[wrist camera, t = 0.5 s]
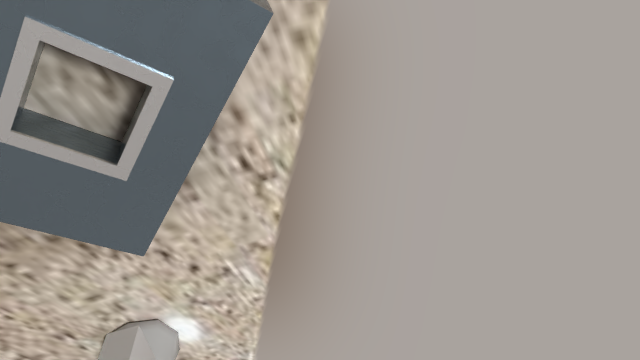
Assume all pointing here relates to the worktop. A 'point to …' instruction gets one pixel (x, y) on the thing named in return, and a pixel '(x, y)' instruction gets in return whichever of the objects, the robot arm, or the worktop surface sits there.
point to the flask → (158, 338)
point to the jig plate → (148, 120)
